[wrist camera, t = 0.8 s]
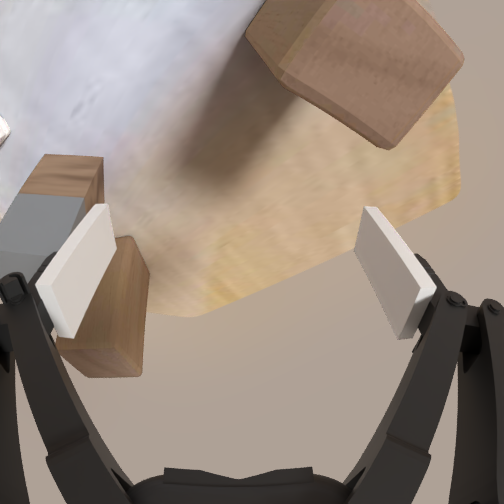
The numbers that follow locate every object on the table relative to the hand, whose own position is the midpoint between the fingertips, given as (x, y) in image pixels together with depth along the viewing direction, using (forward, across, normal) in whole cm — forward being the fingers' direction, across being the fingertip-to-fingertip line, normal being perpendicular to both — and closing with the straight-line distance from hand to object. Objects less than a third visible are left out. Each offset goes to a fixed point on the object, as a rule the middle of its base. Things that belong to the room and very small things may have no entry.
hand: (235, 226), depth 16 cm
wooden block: (+24, +7, +13) cm, 28 cm away
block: (+30, -20, -22) cm, 42 cm away
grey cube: (+17, -22, -9) cm, 29 cm away
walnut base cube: (+26, -23, -7) cm, 35 cm away
